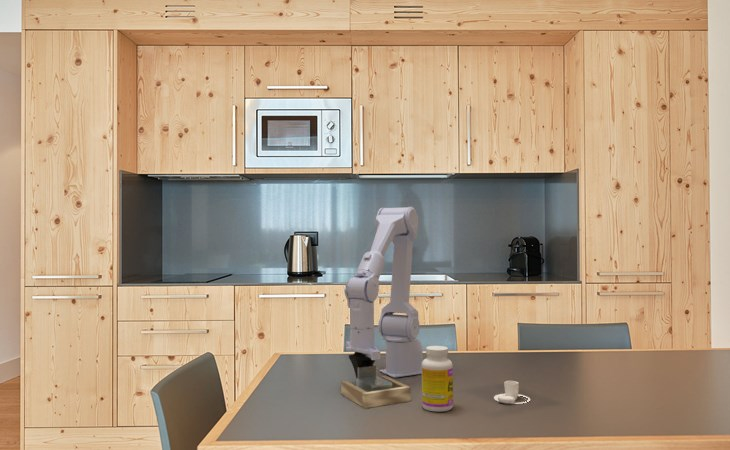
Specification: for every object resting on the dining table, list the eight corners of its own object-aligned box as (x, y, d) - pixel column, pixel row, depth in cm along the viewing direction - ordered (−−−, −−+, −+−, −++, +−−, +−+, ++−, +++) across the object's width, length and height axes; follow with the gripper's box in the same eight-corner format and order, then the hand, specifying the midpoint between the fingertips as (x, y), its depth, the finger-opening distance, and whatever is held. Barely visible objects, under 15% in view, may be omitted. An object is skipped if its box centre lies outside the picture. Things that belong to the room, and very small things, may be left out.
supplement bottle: (452, 413, 121) (451, 351, 121) (420, 412, 122) (419, 350, 122) (454, 404, 128) (453, 345, 128) (423, 402, 129) (422, 344, 129)
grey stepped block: (355, 394, 136) (355, 367, 136) (376, 390, 139) (376, 364, 139) (371, 403, 129) (370, 375, 129) (393, 399, 131) (393, 372, 131)
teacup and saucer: (507, 408, 125) (507, 389, 125) (483, 399, 132) (483, 381, 132) (538, 402, 129) (537, 384, 129) (513, 394, 136) (513, 376, 136)
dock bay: (384, 387, 141) (384, 375, 141) (410, 400, 130) (410, 387, 130) (341, 394, 136) (341, 381, 136) (364, 408, 125) (364, 394, 125)
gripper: (334, 324, 144) (335, 380, 144) (360, 333, 131) (361, 394, 131) (360, 322, 147) (360, 376, 147) (388, 330, 134) (388, 390, 134)
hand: (362, 384), depth 139 cm, fingers closed
